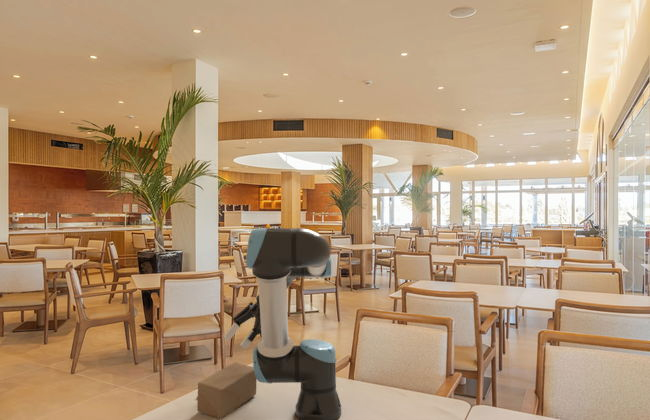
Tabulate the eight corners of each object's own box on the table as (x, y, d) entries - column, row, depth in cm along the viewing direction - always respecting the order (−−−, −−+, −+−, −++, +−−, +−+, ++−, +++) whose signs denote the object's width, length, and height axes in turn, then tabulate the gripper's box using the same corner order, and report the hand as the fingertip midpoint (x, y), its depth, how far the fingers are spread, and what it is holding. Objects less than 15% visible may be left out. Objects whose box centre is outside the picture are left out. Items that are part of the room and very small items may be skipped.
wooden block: (256, 394, 168) (220, 419, 150) (234, 387, 173) (196, 411, 155) (257, 367, 168) (221, 389, 150) (234, 361, 172) (197, 382, 154)
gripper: (293, 308, 173) (257, 357, 164) (259, 297, 192) (226, 340, 183) (280, 295, 169) (243, 345, 161) (247, 285, 189) (213, 329, 180)
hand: (234, 343), depth 172 cm, fingers open, 12 cm apart
